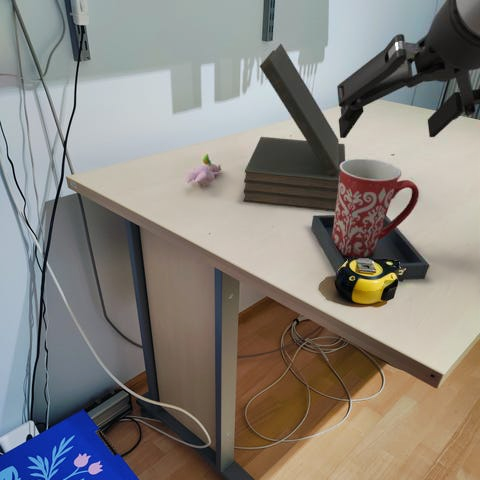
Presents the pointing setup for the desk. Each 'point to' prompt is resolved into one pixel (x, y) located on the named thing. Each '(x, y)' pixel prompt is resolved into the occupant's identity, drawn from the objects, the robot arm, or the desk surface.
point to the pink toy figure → (204, 172)
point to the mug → (367, 205)
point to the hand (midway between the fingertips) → (386, 128)
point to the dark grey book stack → (295, 148)
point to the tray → (386, 248)
